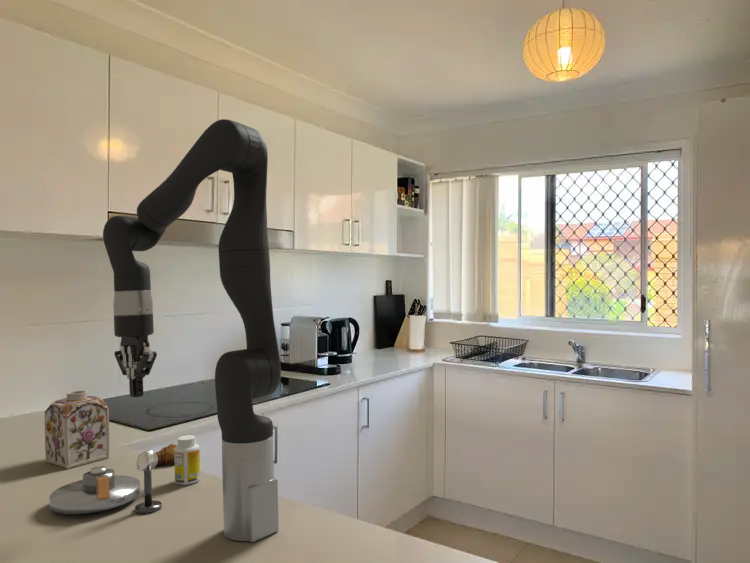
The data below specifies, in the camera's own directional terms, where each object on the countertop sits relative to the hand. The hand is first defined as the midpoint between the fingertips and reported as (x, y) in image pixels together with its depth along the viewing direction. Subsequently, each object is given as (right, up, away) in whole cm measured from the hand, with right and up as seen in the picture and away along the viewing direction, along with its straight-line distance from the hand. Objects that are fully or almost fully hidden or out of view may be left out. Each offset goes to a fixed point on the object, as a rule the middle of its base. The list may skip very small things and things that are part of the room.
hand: (136, 396), depth 118 cm
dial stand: (+3, -23, -2) cm, 23 cm away
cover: (-9, -20, +2) cm, 22 cm away
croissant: (-3, -23, +29) cm, 37 cm away
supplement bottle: (+6, -23, +14) cm, 27 cm away
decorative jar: (-29, -24, +32) cm, 50 cm away
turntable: (-9, -22, +2) cm, 23 cm away
